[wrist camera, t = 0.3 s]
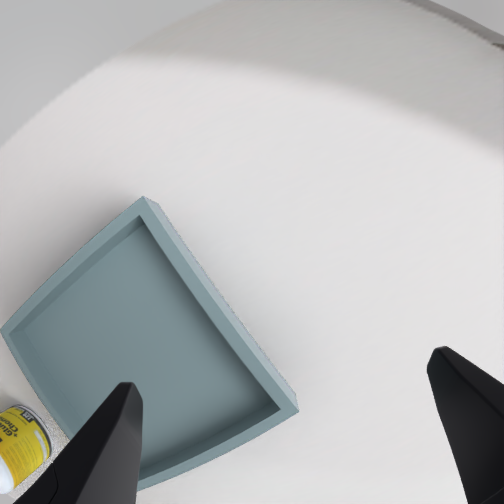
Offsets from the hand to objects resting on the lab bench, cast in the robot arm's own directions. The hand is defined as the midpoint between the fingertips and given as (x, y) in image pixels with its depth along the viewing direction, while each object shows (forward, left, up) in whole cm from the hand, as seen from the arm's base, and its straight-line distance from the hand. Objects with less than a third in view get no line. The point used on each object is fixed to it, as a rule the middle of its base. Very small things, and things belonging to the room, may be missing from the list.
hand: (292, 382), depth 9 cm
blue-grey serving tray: (+2, +10, -15) cm, 18 cm away
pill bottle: (+2, +28, -15) cm, 32 cm away
